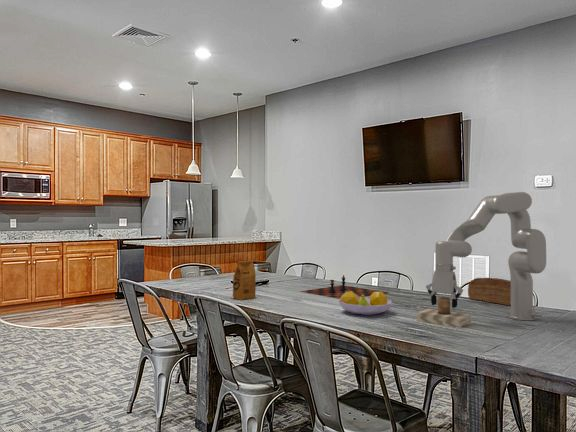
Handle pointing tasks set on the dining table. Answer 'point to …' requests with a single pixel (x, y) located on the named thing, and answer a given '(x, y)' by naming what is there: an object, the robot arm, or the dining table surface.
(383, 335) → the dining table surface
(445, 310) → the peg
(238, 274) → the coffee package
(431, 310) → the board
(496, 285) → the bread
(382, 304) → the fruit bowl
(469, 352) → the dining table surface
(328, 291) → the chessboard
